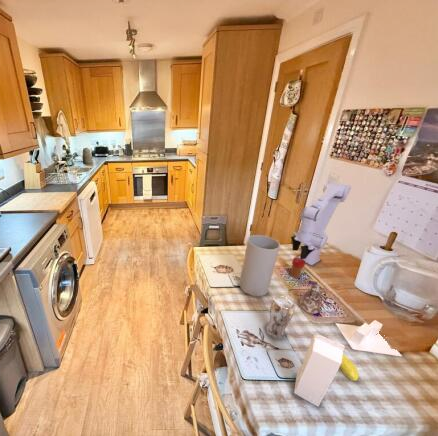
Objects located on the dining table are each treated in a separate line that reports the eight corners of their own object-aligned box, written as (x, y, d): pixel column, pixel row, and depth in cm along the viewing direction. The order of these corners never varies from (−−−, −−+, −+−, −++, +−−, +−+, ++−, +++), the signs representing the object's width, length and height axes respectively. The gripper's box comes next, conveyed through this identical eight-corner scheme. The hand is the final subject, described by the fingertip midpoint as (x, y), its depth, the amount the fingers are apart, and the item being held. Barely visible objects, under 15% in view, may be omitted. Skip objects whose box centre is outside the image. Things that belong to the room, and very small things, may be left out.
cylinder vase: (238, 292, 106) (247, 246, 95) (239, 276, 116) (248, 233, 106) (268, 300, 101) (281, 252, 91) (266, 282, 112) (278, 237, 101)
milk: (296, 376, 72) (317, 325, 63) (319, 389, 69) (345, 337, 60) (293, 393, 67) (315, 341, 58) (318, 408, 64) (346, 354, 55)
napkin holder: (353, 349, 80) (359, 338, 78) (334, 323, 90) (339, 312, 88) (403, 356, 78) (410, 345, 75) (378, 328, 88) (384, 317, 85)
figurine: (299, 309, 96) (307, 287, 91) (298, 298, 102) (306, 277, 97) (320, 316, 93) (329, 293, 88) (317, 304, 99) (326, 282, 94)
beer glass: (283, 327, 88) (293, 297, 82) (287, 342, 82) (298, 311, 76) (263, 322, 90) (272, 293, 84) (265, 337, 85) (274, 306, 78)
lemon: (344, 381, 70) (349, 373, 69) (331, 357, 77) (335, 349, 76) (360, 384, 70) (365, 376, 68) (345, 359, 77) (349, 351, 75)
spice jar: (290, 271, 119) (294, 258, 116) (299, 274, 117) (304, 261, 114) (289, 275, 116) (293, 262, 113) (298, 279, 114) (303, 265, 111)
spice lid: (296, 268, 111) (298, 264, 110) (289, 262, 116) (290, 257, 115) (306, 267, 112) (308, 263, 111) (299, 261, 117) (300, 257, 116)
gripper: (290, 223, 118) (283, 246, 124) (305, 237, 105) (298, 262, 110) (304, 224, 117) (297, 246, 123) (322, 238, 104) (313, 262, 110)
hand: (298, 254), depth 117 cm, fingers open, 7 cm apart
